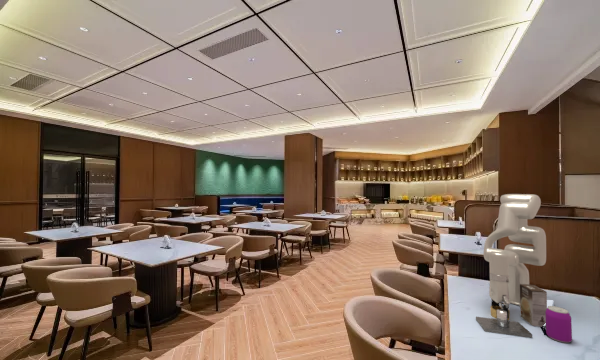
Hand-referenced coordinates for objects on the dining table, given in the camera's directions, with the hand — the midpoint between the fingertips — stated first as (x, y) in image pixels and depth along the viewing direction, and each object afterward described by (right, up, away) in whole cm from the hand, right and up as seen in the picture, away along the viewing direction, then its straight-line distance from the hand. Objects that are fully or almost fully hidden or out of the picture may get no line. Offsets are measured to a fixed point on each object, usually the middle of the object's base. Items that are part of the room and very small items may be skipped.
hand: (499, 313), depth 127 cm
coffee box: (+12, -2, -5) cm, 13 cm away
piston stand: (-7, -1, -11) cm, 13 cm away
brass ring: (0, -2, 0) cm, 2 cm away
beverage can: (+10, -1, -19) cm, 21 cm away
